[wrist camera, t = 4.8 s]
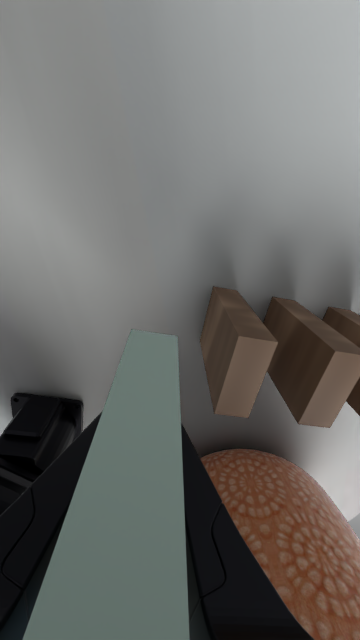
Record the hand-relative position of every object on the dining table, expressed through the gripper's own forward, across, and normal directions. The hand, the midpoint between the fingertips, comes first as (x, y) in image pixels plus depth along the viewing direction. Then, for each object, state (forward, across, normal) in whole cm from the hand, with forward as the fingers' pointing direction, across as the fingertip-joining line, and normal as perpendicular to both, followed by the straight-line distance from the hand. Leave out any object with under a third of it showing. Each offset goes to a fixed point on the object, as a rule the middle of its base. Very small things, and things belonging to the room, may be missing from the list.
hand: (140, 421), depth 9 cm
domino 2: (+12, -5, 0) cm, 13 cm away
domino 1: (+2, 0, 0) cm, 2 cm away
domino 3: (+12, -10, 0) cm, 16 cm away
